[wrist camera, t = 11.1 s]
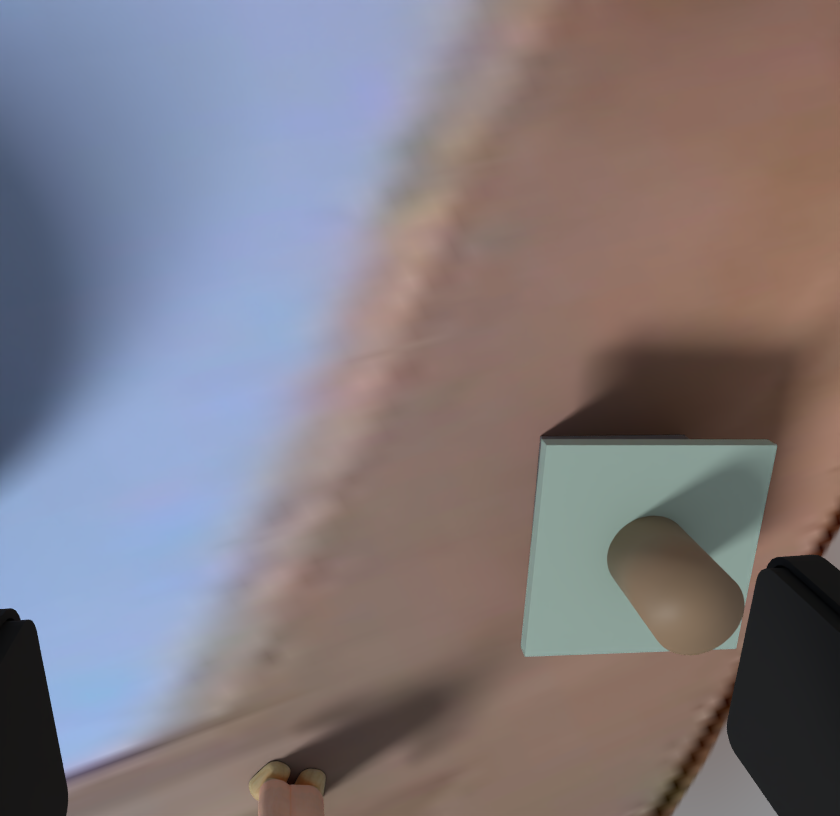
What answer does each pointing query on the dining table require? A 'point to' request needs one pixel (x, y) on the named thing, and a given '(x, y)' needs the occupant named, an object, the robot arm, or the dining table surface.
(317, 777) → the grandmother figurine
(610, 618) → the lid
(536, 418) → the dining table surface
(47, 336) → the dining table surface
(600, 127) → the dining table surface
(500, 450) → the dining table surface
